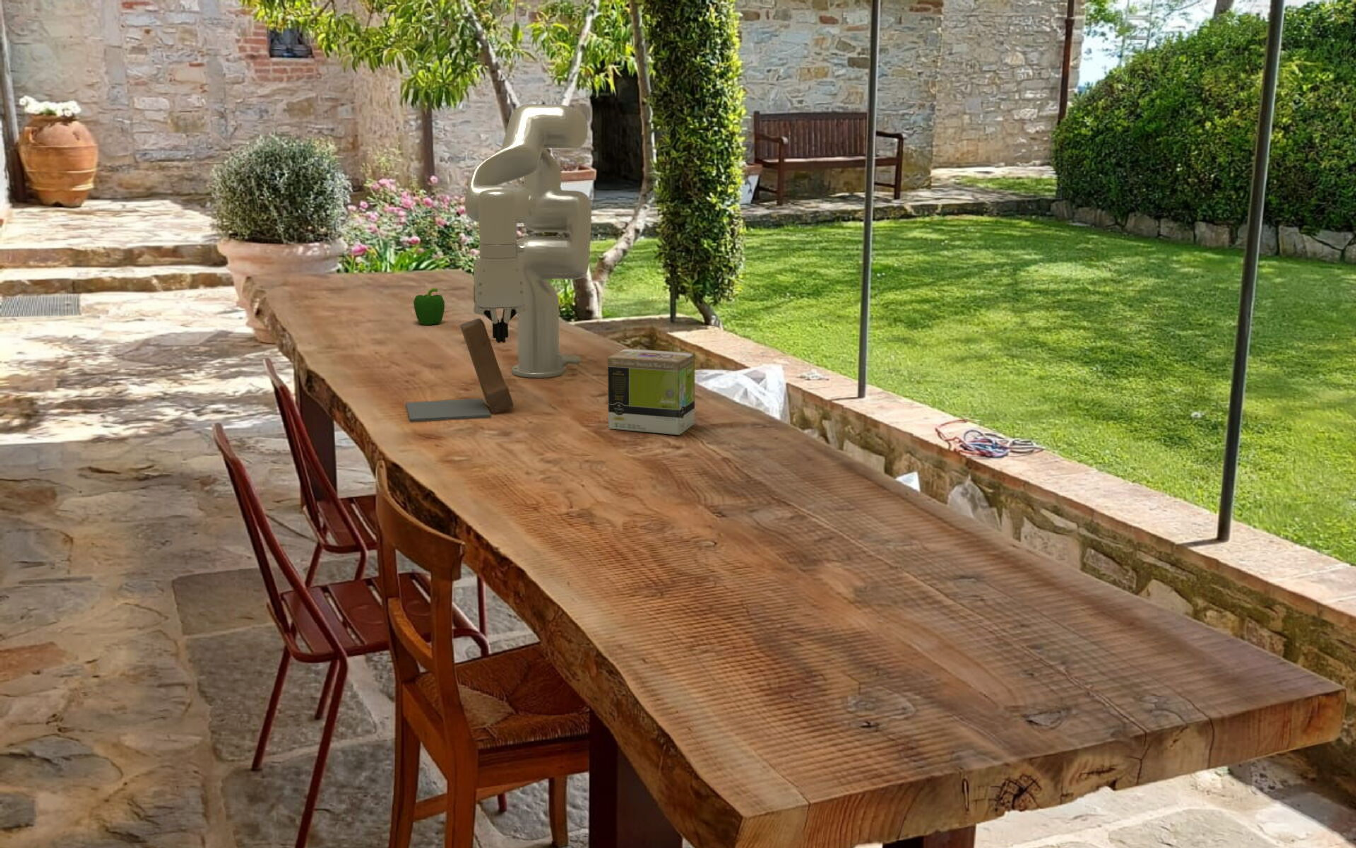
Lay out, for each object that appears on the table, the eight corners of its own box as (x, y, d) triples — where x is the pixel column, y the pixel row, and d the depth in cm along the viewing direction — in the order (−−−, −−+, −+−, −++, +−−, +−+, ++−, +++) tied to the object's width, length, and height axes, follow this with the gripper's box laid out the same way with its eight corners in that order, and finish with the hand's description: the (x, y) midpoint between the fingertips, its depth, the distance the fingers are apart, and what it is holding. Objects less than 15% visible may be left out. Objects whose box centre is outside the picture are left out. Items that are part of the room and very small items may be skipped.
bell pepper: (408, 325, 357) (407, 289, 354) (422, 320, 364) (421, 285, 362) (436, 327, 354) (434, 291, 352) (449, 322, 362) (448, 286, 359)
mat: (482, 401, 273) (482, 398, 273) (490, 417, 260) (490, 414, 260) (405, 405, 269) (405, 402, 269) (410, 421, 256) (410, 419, 256)
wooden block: (514, 406, 264) (487, 325, 258) (493, 414, 263) (465, 332, 257) (507, 396, 272) (480, 317, 266) (486, 404, 271) (459, 324, 265)
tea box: (695, 424, 257) (696, 351, 253) (679, 437, 248) (680, 361, 244) (625, 417, 262) (625, 346, 258) (606, 429, 253) (606, 355, 249)
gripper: (532, 248, 265) (533, 336, 269) (458, 250, 261) (461, 339, 266) (538, 253, 258) (539, 343, 263) (463, 255, 254) (465, 346, 259)
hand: (500, 341), depth 264 cm, fingers closed
